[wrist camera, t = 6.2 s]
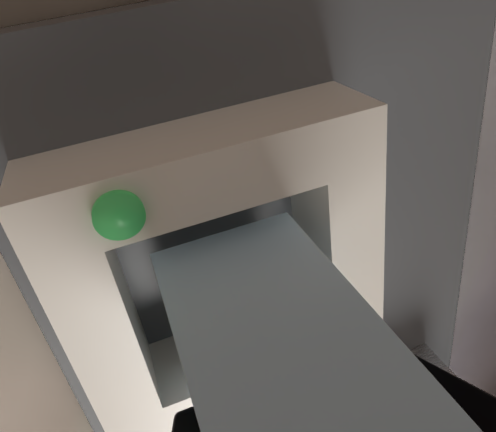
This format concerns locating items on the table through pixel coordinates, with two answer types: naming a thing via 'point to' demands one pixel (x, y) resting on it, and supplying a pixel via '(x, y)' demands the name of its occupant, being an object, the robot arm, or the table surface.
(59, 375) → the table surface
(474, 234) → the table surface
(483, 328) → the table surface
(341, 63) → the panel board
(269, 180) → the port block
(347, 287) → the plug
